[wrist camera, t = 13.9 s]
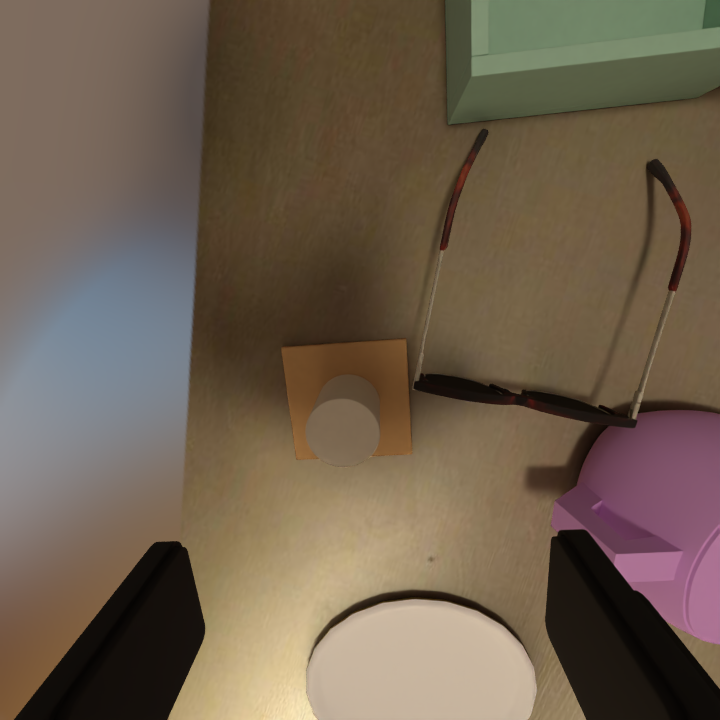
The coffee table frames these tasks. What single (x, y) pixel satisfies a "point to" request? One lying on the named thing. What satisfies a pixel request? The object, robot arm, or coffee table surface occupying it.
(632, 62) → the green open box
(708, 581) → the teapot
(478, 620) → the plate
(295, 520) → the coffee table surface
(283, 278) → the coffee table surface
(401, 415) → the mat
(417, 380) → the sunglasses
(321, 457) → the cylinder
